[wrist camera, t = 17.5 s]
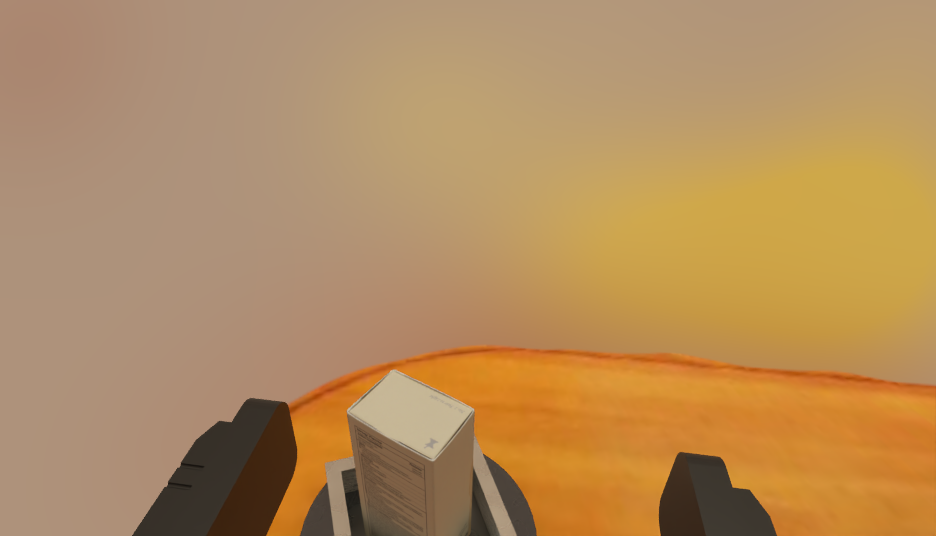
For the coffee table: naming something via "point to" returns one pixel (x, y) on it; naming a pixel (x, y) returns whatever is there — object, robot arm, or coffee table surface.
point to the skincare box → (412, 459)
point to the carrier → (492, 517)
